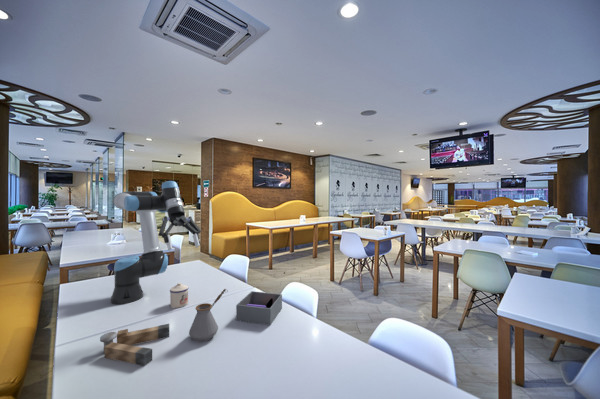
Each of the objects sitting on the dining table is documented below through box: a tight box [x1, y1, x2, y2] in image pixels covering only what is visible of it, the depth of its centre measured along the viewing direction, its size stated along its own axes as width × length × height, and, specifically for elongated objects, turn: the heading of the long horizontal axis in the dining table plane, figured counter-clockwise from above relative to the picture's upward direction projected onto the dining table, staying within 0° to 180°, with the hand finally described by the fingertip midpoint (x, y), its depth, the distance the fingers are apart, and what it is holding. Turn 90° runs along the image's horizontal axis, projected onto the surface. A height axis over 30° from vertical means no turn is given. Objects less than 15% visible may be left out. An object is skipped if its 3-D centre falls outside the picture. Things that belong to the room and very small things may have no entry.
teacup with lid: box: [169, 282, 189, 309], centre depth 137 cm, size 12×9×12 cm
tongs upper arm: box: [99, 323, 170, 346], centre depth 100 cm, size 23×6×6 cm, turn 116°
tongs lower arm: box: [103, 339, 153, 367], centre depth 92 cm, size 22×5×4 cm, turn 76°
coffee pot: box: [188, 288, 228, 343], centre depth 110 cm, size 21×12×15 cm, turn 161°
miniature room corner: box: [247, 298, 273, 308], centre depth 125 cm, size 12×12×7 cm
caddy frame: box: [235, 290, 283, 326], centre depth 125 cm, size 17×17×8 cm
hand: (184, 247), depth 119 cm, fingers open, 13 cm apart
